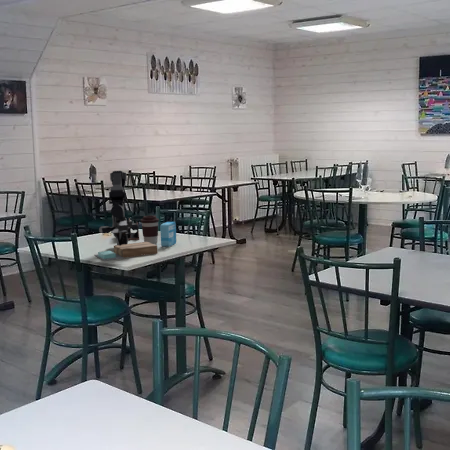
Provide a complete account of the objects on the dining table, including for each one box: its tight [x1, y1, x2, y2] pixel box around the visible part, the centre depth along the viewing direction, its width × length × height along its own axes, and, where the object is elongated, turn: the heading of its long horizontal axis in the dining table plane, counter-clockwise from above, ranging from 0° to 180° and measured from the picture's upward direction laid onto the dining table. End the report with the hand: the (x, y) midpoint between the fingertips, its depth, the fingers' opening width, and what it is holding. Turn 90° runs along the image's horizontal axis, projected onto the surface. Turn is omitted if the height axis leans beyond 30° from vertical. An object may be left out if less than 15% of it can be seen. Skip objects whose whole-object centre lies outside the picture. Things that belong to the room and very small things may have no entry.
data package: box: [159, 221, 177, 248], centre depth 324 cm, size 12×4×12 cm, turn 165°
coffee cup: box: [140, 215, 160, 245], centre depth 330 cm, size 10×10×15 cm
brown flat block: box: [113, 241, 159, 259], centre depth 304 cm, size 14×18×4 cm
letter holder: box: [127, 217, 140, 241], centre depth 352 cm, size 10×20×14 cm, turn 10°
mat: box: [94, 253, 125, 262], centre depth 298 cm, size 16×10×1 cm, turn 29°
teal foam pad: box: [97, 250, 116, 259], centre depth 296 cm, size 9×6×2 cm, turn 30°
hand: (120, 245), depth 300 cm, fingers closed
